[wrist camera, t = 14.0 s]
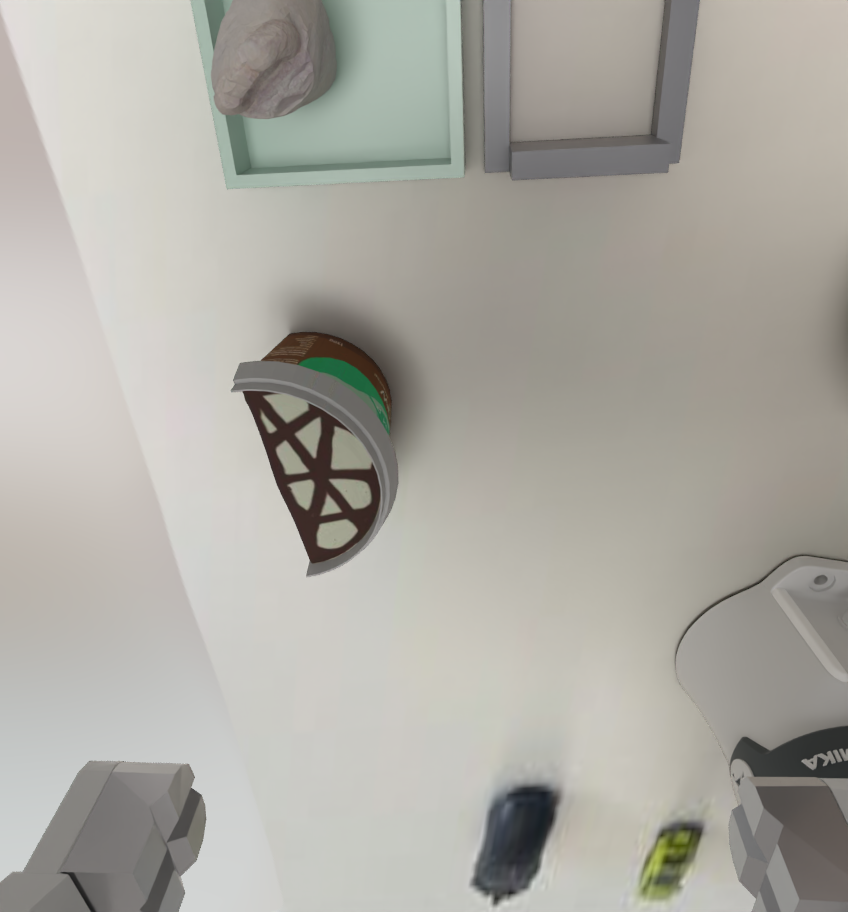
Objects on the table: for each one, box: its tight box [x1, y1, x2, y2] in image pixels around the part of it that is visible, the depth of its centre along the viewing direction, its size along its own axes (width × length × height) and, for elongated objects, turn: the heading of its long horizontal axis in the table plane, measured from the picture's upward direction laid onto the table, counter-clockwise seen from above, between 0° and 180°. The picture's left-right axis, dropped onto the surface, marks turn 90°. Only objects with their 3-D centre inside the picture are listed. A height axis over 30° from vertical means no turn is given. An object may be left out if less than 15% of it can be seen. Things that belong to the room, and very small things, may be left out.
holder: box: [483, 0, 700, 180], centre depth 30 cm, size 9×11×4 cm
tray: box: [191, 0, 465, 189], centre depth 31 cm, size 12×11×3 cm
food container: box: [231, 332, 398, 577], centre depth 37 cm, size 12×6×10 cm, turn 13°
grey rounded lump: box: [211, 0, 337, 119], centre depth 27 cm, size 6×4×10 cm, turn 159°
